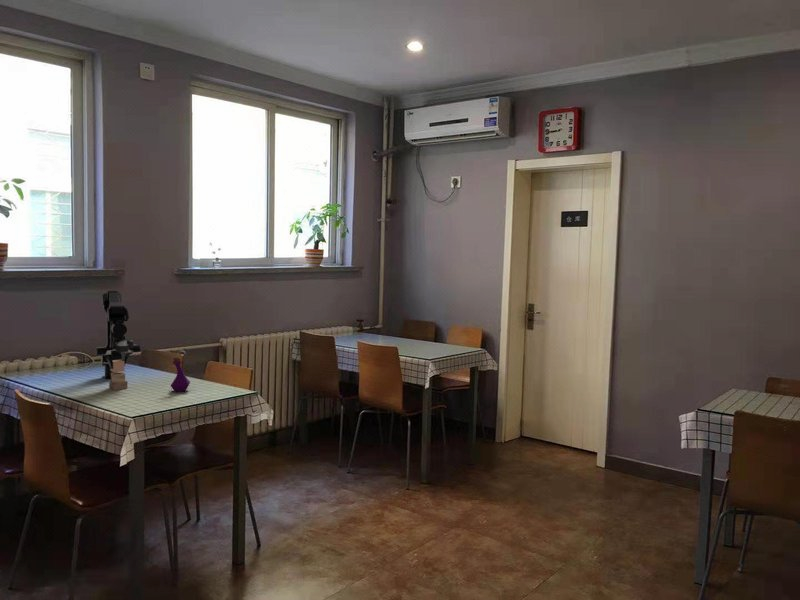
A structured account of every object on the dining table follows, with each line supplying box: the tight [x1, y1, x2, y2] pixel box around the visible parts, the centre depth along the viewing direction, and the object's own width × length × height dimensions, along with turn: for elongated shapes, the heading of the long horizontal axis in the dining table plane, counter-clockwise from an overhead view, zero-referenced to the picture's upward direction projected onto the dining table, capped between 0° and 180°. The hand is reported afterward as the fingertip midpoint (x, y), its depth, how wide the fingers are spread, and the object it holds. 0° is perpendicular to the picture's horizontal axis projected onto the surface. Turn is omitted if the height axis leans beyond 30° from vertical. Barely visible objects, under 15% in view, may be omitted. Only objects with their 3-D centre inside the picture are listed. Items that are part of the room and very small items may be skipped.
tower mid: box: [110, 371, 126, 383], centre depth 300 cm, size 5×5×4 cm
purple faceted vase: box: [170, 349, 191, 393], centre depth 297 cm, size 8×8×18 cm
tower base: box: [108, 380, 128, 391], centre depth 300 cm, size 6×6×4 cm
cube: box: [111, 360, 125, 372], centre depth 299 cm, size 4×4×4 cm
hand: (117, 368), depth 299 cm, fingers closed on cube, 4 cm apart
